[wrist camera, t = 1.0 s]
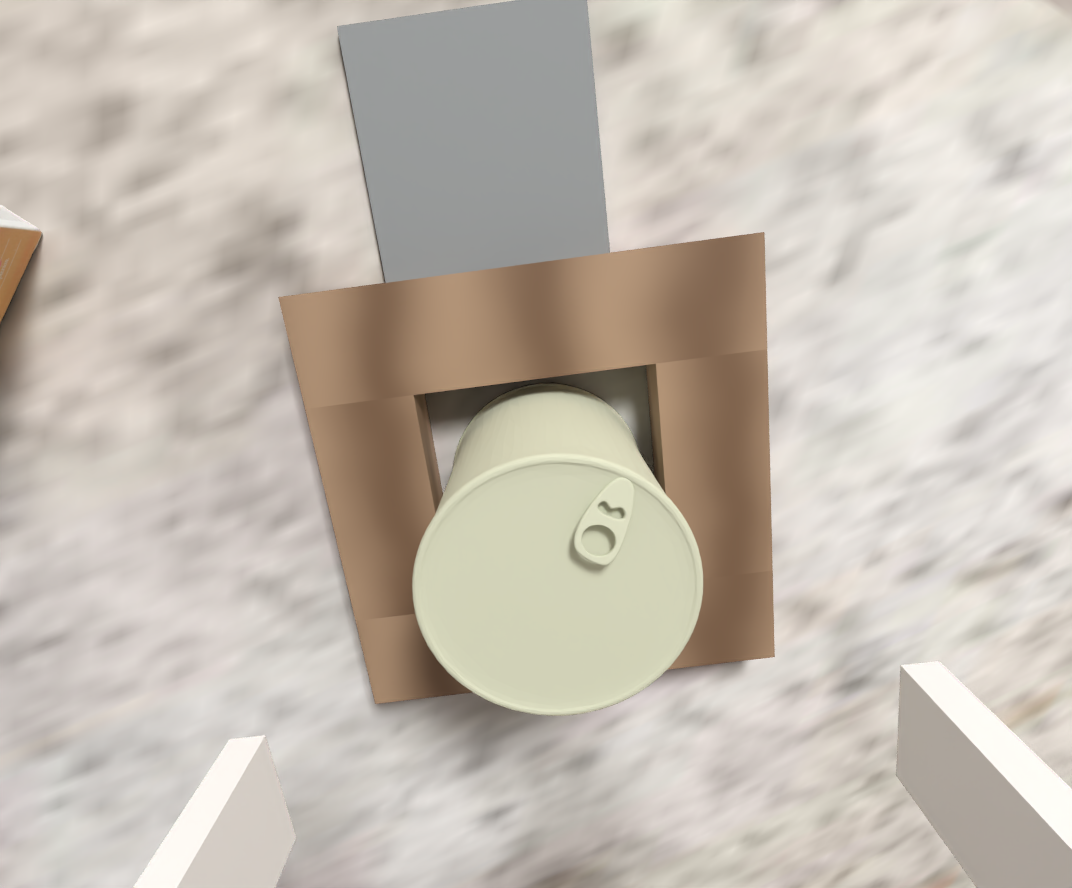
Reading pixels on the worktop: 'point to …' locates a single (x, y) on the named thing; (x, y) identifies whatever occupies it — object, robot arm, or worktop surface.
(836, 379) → the worktop surface
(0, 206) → the small box
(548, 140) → the mat
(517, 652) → the can
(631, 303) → the housing
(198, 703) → the worktop surface
